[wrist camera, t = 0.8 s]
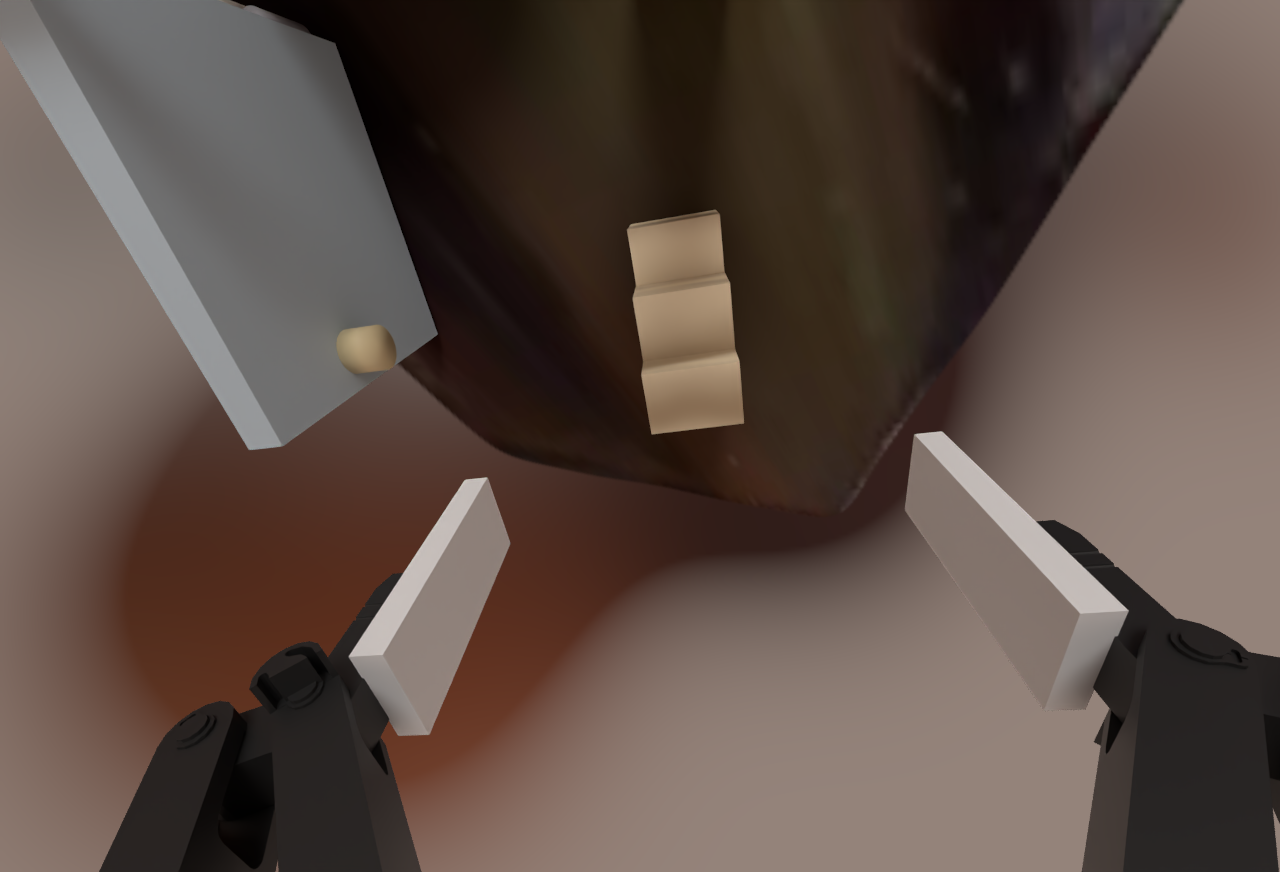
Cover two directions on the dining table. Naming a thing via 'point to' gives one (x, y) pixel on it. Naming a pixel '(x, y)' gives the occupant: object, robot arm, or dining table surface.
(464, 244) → the dining table surface
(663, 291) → the toy staircase
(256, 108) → the door
